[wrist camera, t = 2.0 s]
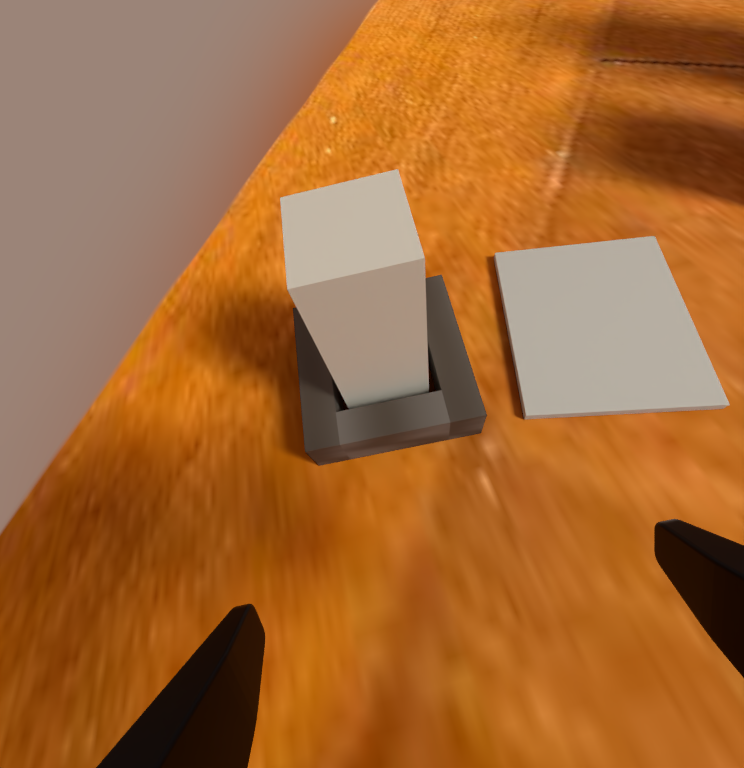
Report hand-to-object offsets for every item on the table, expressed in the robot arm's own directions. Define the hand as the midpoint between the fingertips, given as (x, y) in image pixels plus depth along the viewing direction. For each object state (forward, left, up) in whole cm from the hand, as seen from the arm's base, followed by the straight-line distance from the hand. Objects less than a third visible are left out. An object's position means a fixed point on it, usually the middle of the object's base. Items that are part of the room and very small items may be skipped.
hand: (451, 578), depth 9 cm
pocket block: (+3, -12, -14) cm, 19 cm away
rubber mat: (-11, -15, -14) cm, 23 cm away
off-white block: (+3, -12, -14) cm, 19 cm away
